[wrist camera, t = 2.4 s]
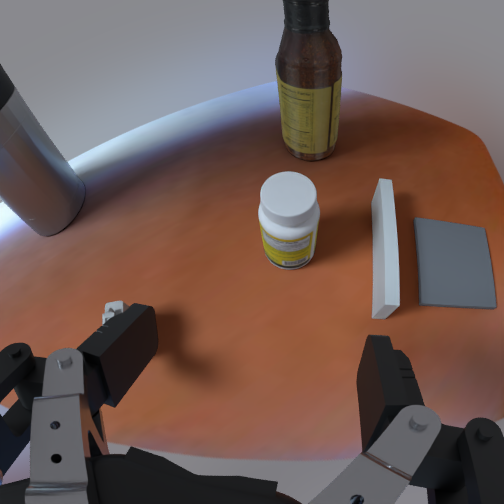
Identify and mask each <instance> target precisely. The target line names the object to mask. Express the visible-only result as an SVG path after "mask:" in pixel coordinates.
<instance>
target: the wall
mask: <svg viewBox="0 0 504 504" xmlns="http://www.w3.org/2000/svg"><path fill="white" fill-rule="evenodd" d="M371 209H372V233H373V302H372V318H374V319H386V318H387V317H388V316H389V315H390V314H391V313H392V312H393V311H394V310H395V309H397V308H398V307H399V306H400V288H399V257H398V239H397V226H396V215H395V204H394V195H393V187H392V180H388V179H381V178H380V179H379V182H378V185H377V188H376V191H375V194H374V196H373V199H372V202H371Z"/></svg>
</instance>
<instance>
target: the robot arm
mask: <svg viewBox="0 0 504 504" xmlns="http://www.w3.org/2000/svg"><path fill="white" fill-rule="evenodd" d="M84 197H85V187H84V184H83V183H82V181H81V180H80V179H79V177H78V176H77V175H76V173H75V172H74V171H73V169H72V168H71V167H70V165H69V164H68V162H67V161H66V160H65V158H64V157H63V156H62V154H61V153H60V152H59V150H58V149H57V147H56V146H55V145H54V143H53V142H52V141H51V139H50V138H49V136H48V135H47V134H46V132H45V131H44V129H43V128H42V126H41V125H40V123H39V122H38V121H37V119H36V118H35V116H34V115H33V113H32V112H31V110H30V109H29V107H28V106H27V104H26V103H25V101H24V100H23V98H22V97H21V95H20V94H19V92H18V91H17V89H16V87H15V86H14V85H13V83H12V81H11V80H10V78H9V77H8V75H7V74H6V73H5V71H4V69H3V68H2V66H1V64H0V199H1V200H2V201H3V202H4V203H5V204H6V205H7V206H8V207H9V208H10V209H11V210H12V211H13V212H15V213H16V214H17V215H18V216H19V217H20V218H21V219H22V220H23V221H24V222H25V223H26V224H27V225H29V226H30V227H31V228H32V229H33V230H34V231H35V232H37V233H38V234H39V235H41V236H50V235H53V234H56V233H58V232H59V231H61V230H63V229H64V228H65V227H66V226H67V225H68V224H69V223H70V222H71V221H72V220H73V219H74V218H75V216H76V215H77V213H78V212H79V210H80V208H81V206H82V204H83V201H84ZM157 348H158V333H157V326H156V318H155V311H154V308H153V307H152V306H147V305H142V304H137V303H134V304H132V305H131V306H130V307H129V308H128V309H127V310H126V311H125V312H123V313H120V314H118V315H115V316H113V317H111V318H110V319H109V320H107V321H106V322H105V323H104V324H103V326H101V327H100V328H99V329H97V332H94V333H93V334H92V335H91V336H90V337H89V338H88V339H86V340H85V341H84V342H83V343H82V344H81V345H80V346H79V347H78V348H77V349H72V348H64V349H59V350H57V351H55V352H53V353H51V354H50V355H49V356H48V358H42V357H34V356H33V353H32V351H31V348H30V346H29V345H27V344H25V343H14V344H11V345H9V346H7V347H5V348H4V349H3V350H2V351H1V352H0V402H1V401H2V400H3V399H4V398H5V397H6V396H7V395H8V394H9V392H10V391H11V390H12V389H13V388H14V390H15V392H16V394H17V396H18V398H19V399H18V400H17V401H16V402H15V403H14V405H13V406H12V407H11V408H10V409H9V410H8V411H7V412H6V414H5V415H4V416H3V417H2V416H1V414H0V504H302V503H300V502H299V501H297V500H295V499H293V498H292V497H290V496H287V495H285V494H283V493H280V492H277V491H276V489H277V484H278V482H276V481H268V480H261V479H254V478H248V477H242V476H203V475H196V474H193V473H191V472H189V471H187V470H186V469H184V468H182V467H180V466H178V465H176V464H174V463H173V462H171V461H169V460H167V459H166V458H164V457H161V456H158V455H154V454H152V453H149V452H146V451H143V450H140V449H137V448H134V447H132V446H131V447H130V449H129V450H128V452H127V454H126V455H124V454H109V450H108V446H107V440H106V435H105V429H104V423H103V416H102V411H101V408H100V407H101V406H102V405H103V404H107V405H109V406H112V407H116V406H117V405H118V403H119V402H120V400H121V399H122V398H123V396H124V395H125V394H126V392H127V391H128V390H129V388H130V387H131V386H132V384H133V383H134V382H135V380H136V379H137V378H138V376H139V375H140V374H141V372H142V371H143V370H144V368H145V367H146V366H147V364H148V363H149V362H150V360H151V359H152V358H153V356H154V355H155V354H156V351H157ZM357 393H358V403H359V413H360V425H361V438H362V452H361V453H360V454H359V455H358V456H357V457H356V458H355V459H354V460H353V461H352V462H351V464H349V465H348V467H347V468H346V469H345V470H344V471H343V472H342V473H341V474H340V475H339V476H338V477H337V478H335V480H333V481H332V482H331V483H330V484H329V485H328V486H327V487H326V488H325V489H324V490H323V491H322V492H321V493H320V494H318V495H317V496H316V497H315V498H314V499H313V500H312V501H310V502H309V503H308V504H394V503H395V502H396V500H397V499H398V498H399V496H400V495H401V493H402V492H403V491H404V489H405V488H406V487H407V485H408V484H409V485H413V486H419V487H424V488H427V494H428V504H504V437H503V434H502V432H501V429H500V428H499V426H498V425H497V424H496V423H495V422H493V421H491V420H489V419H486V418H475V419H472V420H471V421H470V422H468V424H467V425H466V427H465V428H459V427H453V426H448V425H444V424H441V421H440V418H439V416H438V415H437V414H436V413H435V412H434V411H433V410H432V409H430V408H428V407H425V405H424V402H423V399H422V395H421V392H420V389H419V386H418V383H417V380H416V379H415V374H414V371H412V366H411V363H410V360H409V358H408V357H407V356H406V355H405V354H404V353H403V352H402V351H401V350H393V346H392V343H391V340H390V337H389V336H383V335H368V336H367V339H366V342H365V346H364V350H363V354H362V357H361V361H360V364H359V368H358V372H357ZM29 441H30V478H27V479H24V480H20V481H16V482H12V483H8V484H4V485H2V480H3V476H4V475H5V473H6V472H7V470H8V469H9V468H10V466H11V465H12V464H13V462H14V461H15V460H16V458H17V457H18V456H19V454H20V453H21V452H22V450H23V449H24V448H25V446H26V445H27V444H28V443H29Z"/></svg>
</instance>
